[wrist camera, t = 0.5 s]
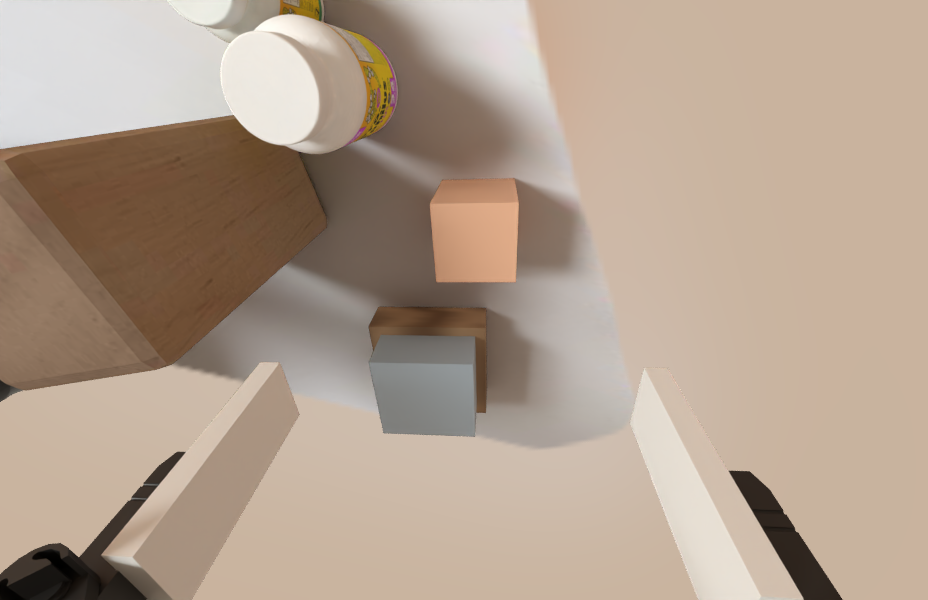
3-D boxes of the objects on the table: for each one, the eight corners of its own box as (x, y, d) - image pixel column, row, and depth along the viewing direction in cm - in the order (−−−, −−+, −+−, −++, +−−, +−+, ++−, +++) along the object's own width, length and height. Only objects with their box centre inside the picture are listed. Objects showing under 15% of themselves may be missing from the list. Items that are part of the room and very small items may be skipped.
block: (334, 226, 34) (173, 376, 17) (240, 246, 36) (8, 401, 19) (284, 106, 29) (-12, 146, 12) (177, 137, 31) (-211, 210, 14)
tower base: (393, 383, 44) (384, 409, 41) (379, 304, 39) (368, 326, 35) (486, 386, 44) (485, 412, 40) (486, 305, 38) (485, 328, 35)
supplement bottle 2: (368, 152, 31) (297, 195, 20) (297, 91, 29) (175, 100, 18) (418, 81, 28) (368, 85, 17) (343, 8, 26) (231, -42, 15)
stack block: (446, 246, 35) (436, 282, 29) (442, 179, 32) (429, 203, 26) (512, 246, 34) (515, 282, 28) (514, 178, 31) (518, 202, 25)
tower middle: (392, 402, 40) (383, 433, 37) (380, 334, 36) (368, 362, 32) (476, 405, 40) (474, 436, 36) (475, 336, 35) (473, 364, 32)
